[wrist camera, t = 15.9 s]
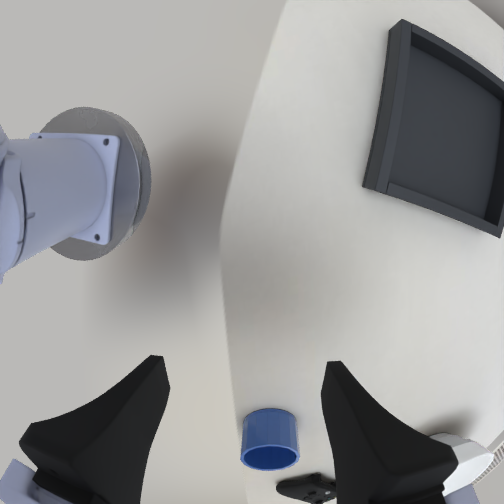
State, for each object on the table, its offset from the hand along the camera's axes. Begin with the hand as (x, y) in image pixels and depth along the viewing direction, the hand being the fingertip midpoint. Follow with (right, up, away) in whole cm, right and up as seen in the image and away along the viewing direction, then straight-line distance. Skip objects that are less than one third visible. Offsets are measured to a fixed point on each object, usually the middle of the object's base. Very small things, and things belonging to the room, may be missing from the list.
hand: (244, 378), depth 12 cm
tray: (+15, +14, +5) cm, 21 cm away
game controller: (+9, -28, +19) cm, 35 cm away
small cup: (+2, -12, +14) cm, 18 cm away
